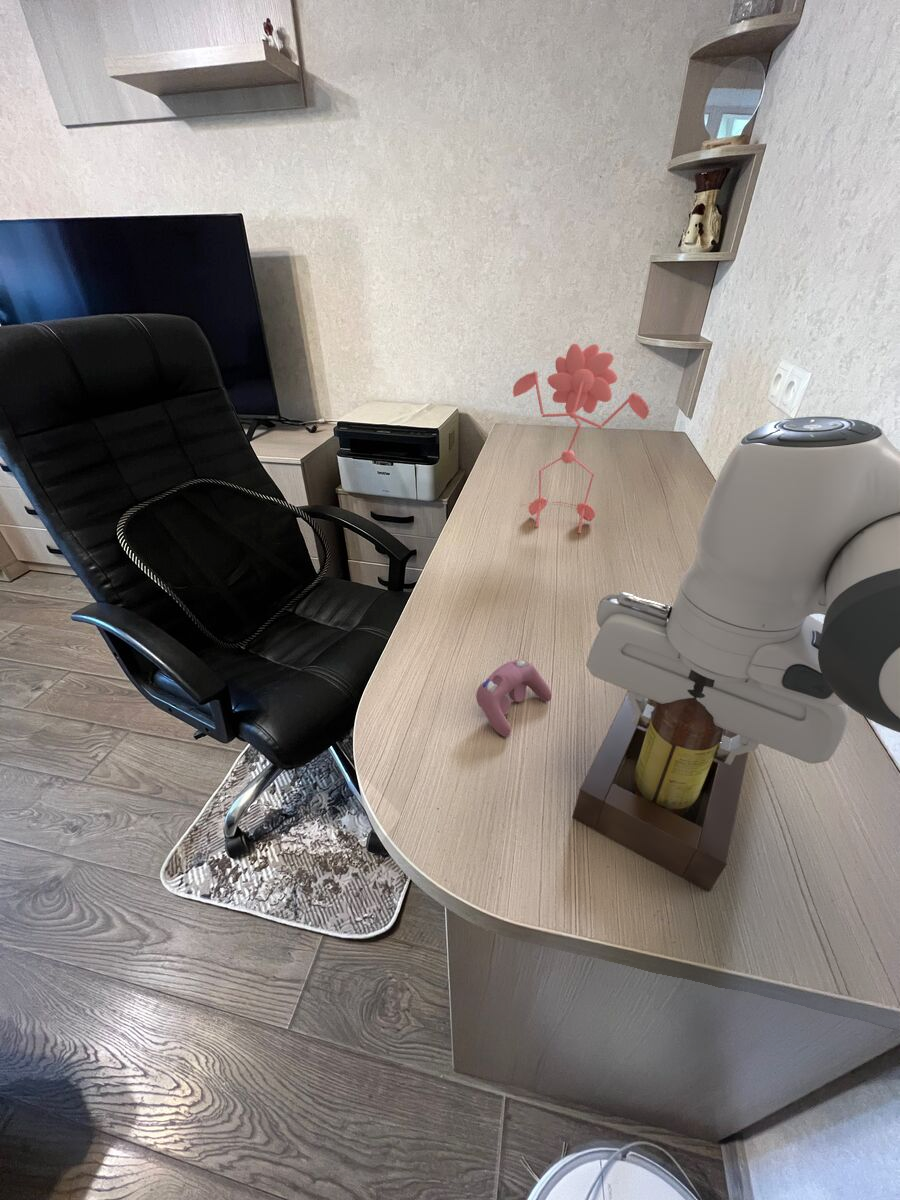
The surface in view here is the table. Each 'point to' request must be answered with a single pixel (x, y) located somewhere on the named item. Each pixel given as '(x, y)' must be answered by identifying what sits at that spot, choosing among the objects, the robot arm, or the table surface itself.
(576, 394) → the flower sculpture
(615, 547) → the table surface
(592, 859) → the table surface
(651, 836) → the hole block
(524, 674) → the video game controller
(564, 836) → the table surface
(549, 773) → the table surface
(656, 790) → the sauce bottle
